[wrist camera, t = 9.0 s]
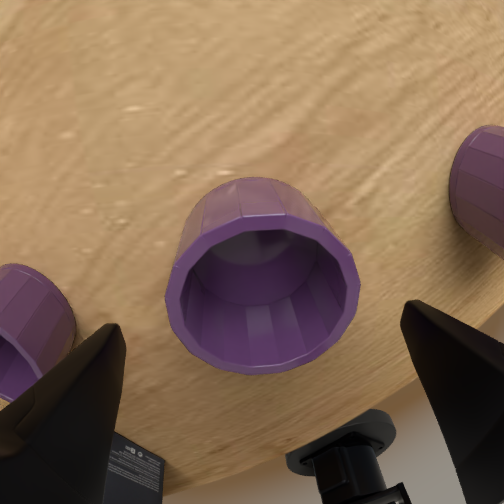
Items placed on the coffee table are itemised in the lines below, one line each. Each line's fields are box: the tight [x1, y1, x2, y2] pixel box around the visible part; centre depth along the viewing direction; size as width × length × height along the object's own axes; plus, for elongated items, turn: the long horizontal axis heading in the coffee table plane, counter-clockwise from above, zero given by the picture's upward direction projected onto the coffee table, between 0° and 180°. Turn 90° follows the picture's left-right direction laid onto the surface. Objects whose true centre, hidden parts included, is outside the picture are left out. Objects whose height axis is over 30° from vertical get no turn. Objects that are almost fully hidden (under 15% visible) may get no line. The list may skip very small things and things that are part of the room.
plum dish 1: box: [0, 264, 76, 403], centre depth 13 cm, size 6×6×5 cm
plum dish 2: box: [165, 177, 361, 375], centre depth 12 cm, size 6×6×5 cm
